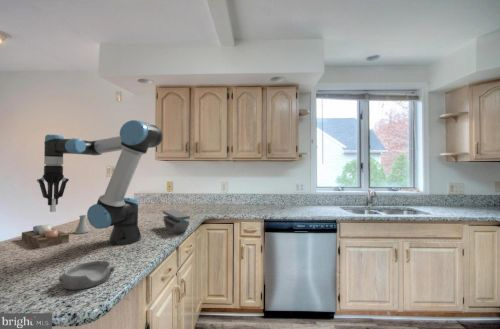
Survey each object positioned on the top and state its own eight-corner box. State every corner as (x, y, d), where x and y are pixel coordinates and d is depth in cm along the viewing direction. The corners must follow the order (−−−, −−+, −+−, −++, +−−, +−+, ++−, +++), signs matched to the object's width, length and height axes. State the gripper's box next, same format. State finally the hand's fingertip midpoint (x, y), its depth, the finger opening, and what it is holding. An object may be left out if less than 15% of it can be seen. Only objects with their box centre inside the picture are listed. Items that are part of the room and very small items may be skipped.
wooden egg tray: (68, 242, 126) (68, 234, 126) (39, 248, 116) (39, 240, 116) (49, 234, 139) (49, 227, 139) (21, 239, 129) (21, 232, 129)
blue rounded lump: (46, 235, 132) (46, 226, 133) (34, 237, 128) (35, 227, 128) (42, 233, 135) (43, 224, 135) (31, 235, 131) (31, 226, 131)
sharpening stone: (189, 234, 145) (189, 216, 145) (176, 236, 140) (176, 217, 140) (174, 225, 164) (174, 209, 165) (162, 227, 160) (163, 210, 160)
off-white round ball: (52, 234, 128) (53, 225, 128) (41, 237, 124) (41, 227, 124) (49, 233, 131) (49, 224, 131) (37, 235, 127) (37, 225, 127)
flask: (82, 234, 141) (82, 217, 141) (71, 233, 142) (72, 216, 142) (92, 231, 148) (93, 214, 148) (82, 230, 149) (83, 214, 150)
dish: (119, 274, 90) (119, 261, 90) (88, 293, 76) (88, 277, 76) (85, 271, 92) (85, 258, 93) (49, 289, 79) (50, 273, 79)
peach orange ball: (59, 240, 124) (59, 230, 124) (47, 242, 120) (47, 232, 120) (55, 238, 127) (55, 229, 127) (43, 241, 122) (43, 231, 123)
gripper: (65, 165, 131) (64, 209, 131) (34, 164, 120) (33, 212, 120) (71, 165, 127) (70, 210, 127) (40, 165, 116) (39, 214, 116)
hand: (52, 211), depth 124 cm, fingers closed
